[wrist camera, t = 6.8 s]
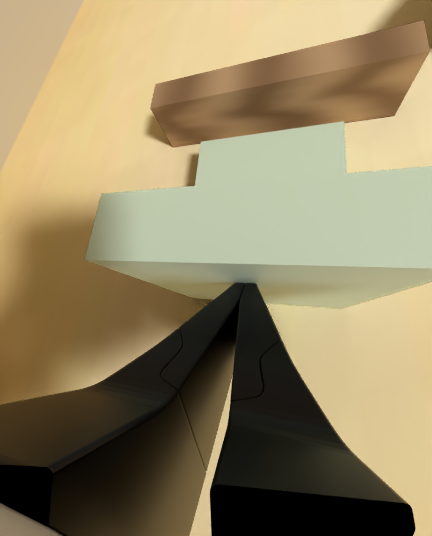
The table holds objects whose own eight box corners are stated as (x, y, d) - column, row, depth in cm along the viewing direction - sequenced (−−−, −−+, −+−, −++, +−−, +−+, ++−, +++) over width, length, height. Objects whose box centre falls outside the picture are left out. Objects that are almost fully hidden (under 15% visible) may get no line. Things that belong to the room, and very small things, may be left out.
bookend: (340, 309, 14) (472, 269, 4) (193, 298, 17) (84, 260, 7) (334, 150, 17) (407, -77, 7) (210, 164, 19) (147, 13, 10)
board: (391, 89, 17) (424, 20, 13) (394, 115, 16) (429, 50, 12) (176, 126, 22) (155, 84, 18) (172, 147, 21) (150, 108, 17)
